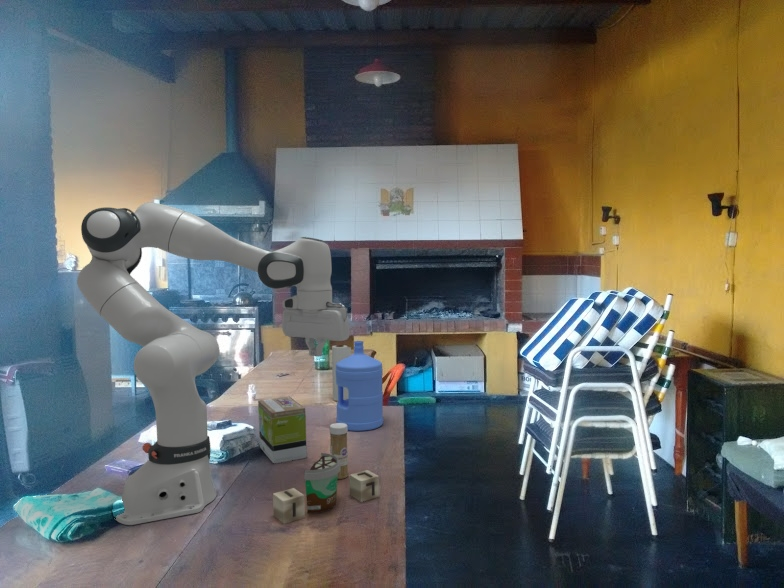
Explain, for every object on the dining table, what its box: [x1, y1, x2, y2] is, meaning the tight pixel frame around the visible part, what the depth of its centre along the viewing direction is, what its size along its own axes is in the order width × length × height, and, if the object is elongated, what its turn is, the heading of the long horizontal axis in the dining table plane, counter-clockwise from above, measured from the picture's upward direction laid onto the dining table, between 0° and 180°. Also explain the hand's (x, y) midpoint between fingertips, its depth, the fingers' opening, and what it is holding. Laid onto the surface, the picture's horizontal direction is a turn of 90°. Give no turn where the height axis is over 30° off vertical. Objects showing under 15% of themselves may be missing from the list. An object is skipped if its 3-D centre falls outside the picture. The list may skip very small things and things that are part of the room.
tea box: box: [257, 395, 308, 464], centre depth 166 cm, size 15×10×15 cm, turn 27°
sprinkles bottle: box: [329, 422, 349, 480], centre depth 148 cm, size 5×5×14 cm
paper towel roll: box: [331, 344, 352, 402], centre depth 226 cm, size 7×6×21 cm
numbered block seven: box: [349, 469, 380, 503], centre depth 136 cm, size 5×5×5 cm
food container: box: [303, 452, 341, 514], centre depth 131 cm, size 12×6×10 cm, turn 168°
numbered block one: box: [272, 487, 306, 525], centre depth 126 cm, size 5×5×5 cm
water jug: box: [335, 340, 384, 432], centre depth 193 cm, size 16×16×28 cm
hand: (315, 355), depth 147 cm, fingers closed
